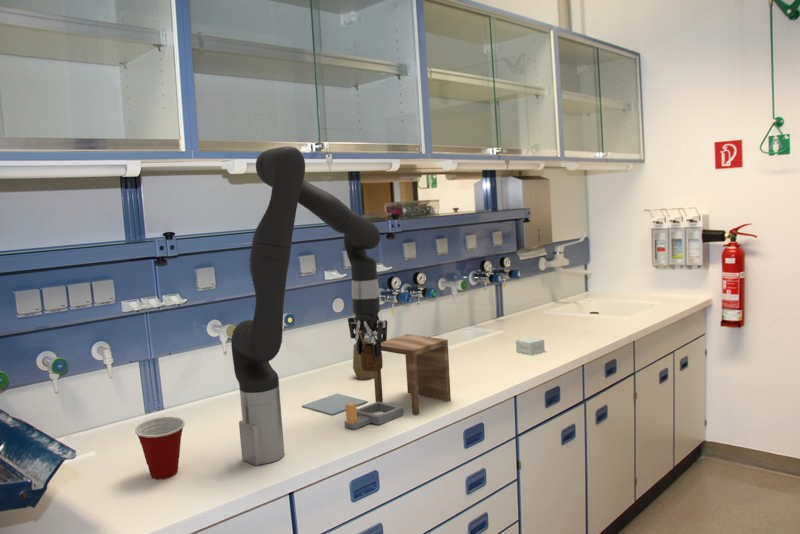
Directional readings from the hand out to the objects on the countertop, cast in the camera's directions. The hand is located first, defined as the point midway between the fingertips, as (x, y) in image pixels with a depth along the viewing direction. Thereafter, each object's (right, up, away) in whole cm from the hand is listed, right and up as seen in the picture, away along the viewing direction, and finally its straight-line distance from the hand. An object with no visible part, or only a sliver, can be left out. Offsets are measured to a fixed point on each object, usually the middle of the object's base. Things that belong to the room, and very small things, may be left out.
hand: (369, 355), depth 173 cm
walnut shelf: (+13, -16, +11) cm, 23 cm away
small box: (+58, -8, +63) cm, 87 cm away
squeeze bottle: (-3, -14, +42) cm, 44 cm away
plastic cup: (-46, -23, -30) cm, 60 cm away
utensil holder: (+1, -4, +1) cm, 4 cm away
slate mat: (-11, -17, +14) cm, 24 cm away
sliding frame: (+1, -17, -2) cm, 18 cm away
